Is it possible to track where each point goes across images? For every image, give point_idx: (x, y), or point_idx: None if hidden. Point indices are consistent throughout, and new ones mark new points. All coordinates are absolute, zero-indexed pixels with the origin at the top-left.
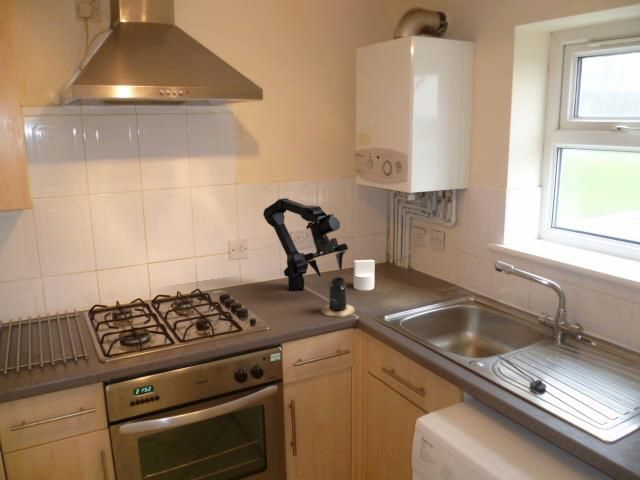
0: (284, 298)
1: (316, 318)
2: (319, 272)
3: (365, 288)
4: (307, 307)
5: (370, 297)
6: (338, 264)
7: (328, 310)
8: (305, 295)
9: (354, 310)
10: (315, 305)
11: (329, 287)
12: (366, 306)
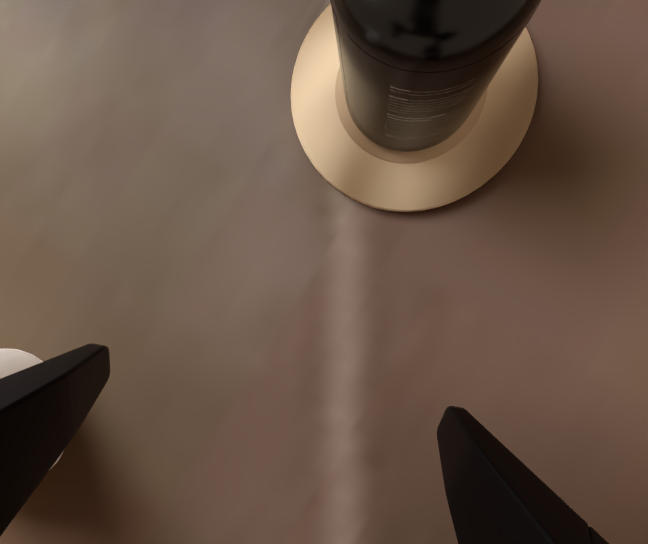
0: (617, 536)
1: (621, 37)
2: (481, 445)
3: (22, 360)
4: (560, 268)
5: (82, 223)
6: (29, 473)
7: (486, 93)
8: (437, 501)
9: (322, 13)
10: (485, 275)
11: (533, 8)
12: (196, 88)
